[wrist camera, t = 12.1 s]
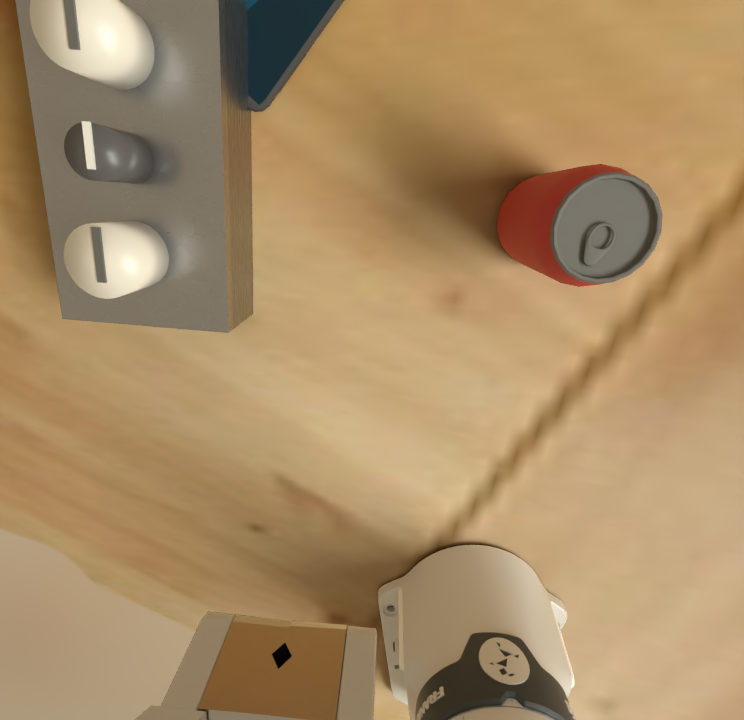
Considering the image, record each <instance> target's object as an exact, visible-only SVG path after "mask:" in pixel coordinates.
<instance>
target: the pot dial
mask: <svg viewBox="0 0 744 720" xmlns="http://www.w3.org/2000/svg"><path fill="white" fill-rule="evenodd" d="M64 151H65V155H66V158H67V161H68V163H69V164H70V166H71V167H72V169H73V170H74V171H75V172H76V173H77V174H78V175H80V176H81V177H83V178H85V179H88V180H91V181H103V182H117V183H131V184H136V183H140V182H143V181H144V180H146V179H147V178H148V177H149V175H150V174H151V172H152V169H153V156H152V152H151V150H150V148H149V146H148V144H147V143H146V142H145V141H144V140H143V139H142V138H141V137H139V136H138V135H136V134H133V133H129V132H126V131H122V130H118V129H114V128H110V127H106V126H103V125H99V124H95V123H91V122H87V121H82V122H80V123H77V124H75V125H74V126H72V127H71V128H70V129H69V131H68V132H67V134H66V137H65V140H64Z"/></svg>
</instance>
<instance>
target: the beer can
mask: <svg viewBox="0 0 744 720" xmlns="http://www.w3.org/2000/svg"><path fill="white" fill-rule="evenodd" d="M661 227H662V211H661V207H660V204H659V200H658V197H657V196H656V194H655V193H654V192H653V190H652V189H651V187H650V186H649V185H648V184H647V183H645V182H644V181H642V180H641V179H639V178H638V177H636V176H634V175H631V174H630V173H628V172H627V171H625V170H623V169H621V168H617V167H612V166H607V165H603V164H598V165H590V166H583V167H577V168H572V169H567V170H562V171H557V172H552V173H547V174H542V175H537V176H533V177H531V178H529V179H527V180H525V181H523V182H520V183H519V184H518V185H517V186H516V187H515V188H514V189H513V190H512V191H510V192H509V194H508V195H507V197H506V198H505V200H504V202H503V203H502V205H501V207H500V211H499V215H498V218H497V233H498V237H499V239H500V242H501V245H502V247H503V248H504V250H505V251H506V252H507V253H508V254H509V256H510V257H511V258H513V259H515V260H516V261H518V262H520V263H521V264H523V265H525V266H527V267H530V268H532V269H534V270H536V271H538V272H540V273H542V274H544V275H546V276H548V277H550V278H552V279H554V280H556V281H558V282H560V283H564V284H569V285H574V286H578V287H579V286H589V285H598V284H603V283H609V282H614V281H616V280H619V279H621V278H624V277H626V276H628V275H630V274H631V273H632V272H634V271H635V270H636V269H638V268H639V267H640V266H641V265H643V264H644V263H645V261H646V260H647V259H648V257H649V256H650V255H651V253H652V252H653V251H654V249H655V247H656V244H657V241H658V239H659V236H660V234H661Z"/></svg>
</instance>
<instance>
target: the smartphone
mask: <svg viewBox="0 0 744 720" xmlns="http://www.w3.org/2000/svg"><path fill="white" fill-rule="evenodd" d="M343 1H344V0H247V35H248V105H249V108H250V109H251V110H253V111H255V112H258V111H264V110H265V109H266V108H268V107H269V106H270V104H271V103H272V101H273V100H274V99H275V97H276V96H277V94H278V93H279V92H280V91H281V89H282V88H283V87H284V85H285V84H286V82H287V81H288V79H289V78H290V77H291V75H292V74H293V72H294V71H295V70H296V68H297V67H298V65H299V64H300V63H301V61H302V60H303V58H304V57H305V56H306V53H307V52H308V51H309V49H310V48H311V46H312V45H313V44H314V42H315V41H316V39H317V38H318V37H319V35H320V34H321V32H322V31H323V29H324V28H325V27H326V25H327V24H328V22H329V21H330V20H331V18H332V17H333V15H334V14H335V13H336V11H337V10H338V8H339V7H340V5H341V4H342V3H343Z"/></svg>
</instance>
